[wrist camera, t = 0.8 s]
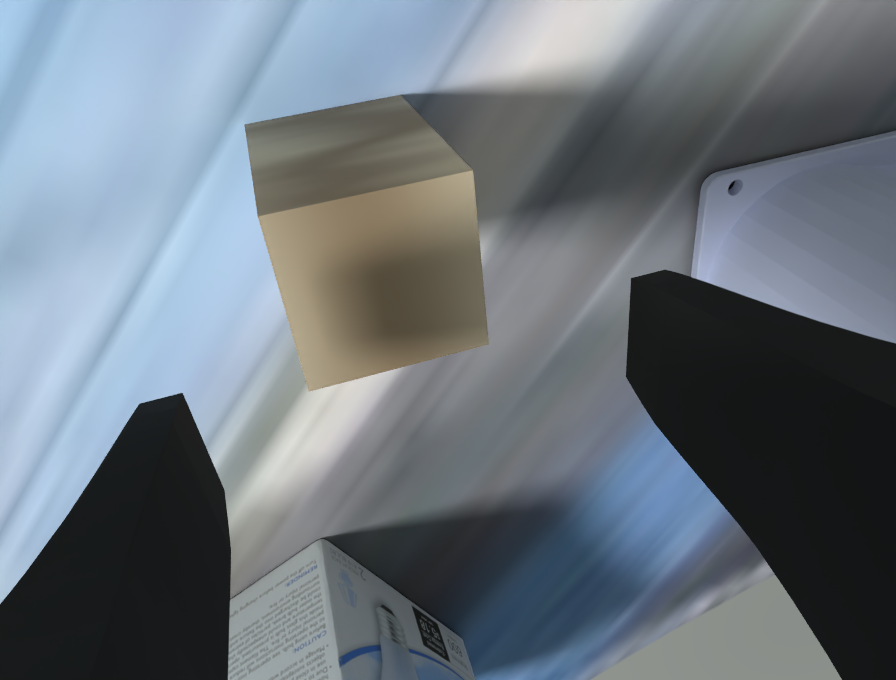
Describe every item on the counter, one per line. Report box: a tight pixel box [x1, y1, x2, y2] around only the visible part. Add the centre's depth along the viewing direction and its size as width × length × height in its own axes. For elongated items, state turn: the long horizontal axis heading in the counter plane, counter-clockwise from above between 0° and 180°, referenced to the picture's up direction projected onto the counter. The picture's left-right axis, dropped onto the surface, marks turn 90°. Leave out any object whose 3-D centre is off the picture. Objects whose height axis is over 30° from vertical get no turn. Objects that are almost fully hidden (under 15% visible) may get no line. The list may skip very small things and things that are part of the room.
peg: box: [245, 95, 489, 391], centre depth 16 cm, size 4×4×6 cm
